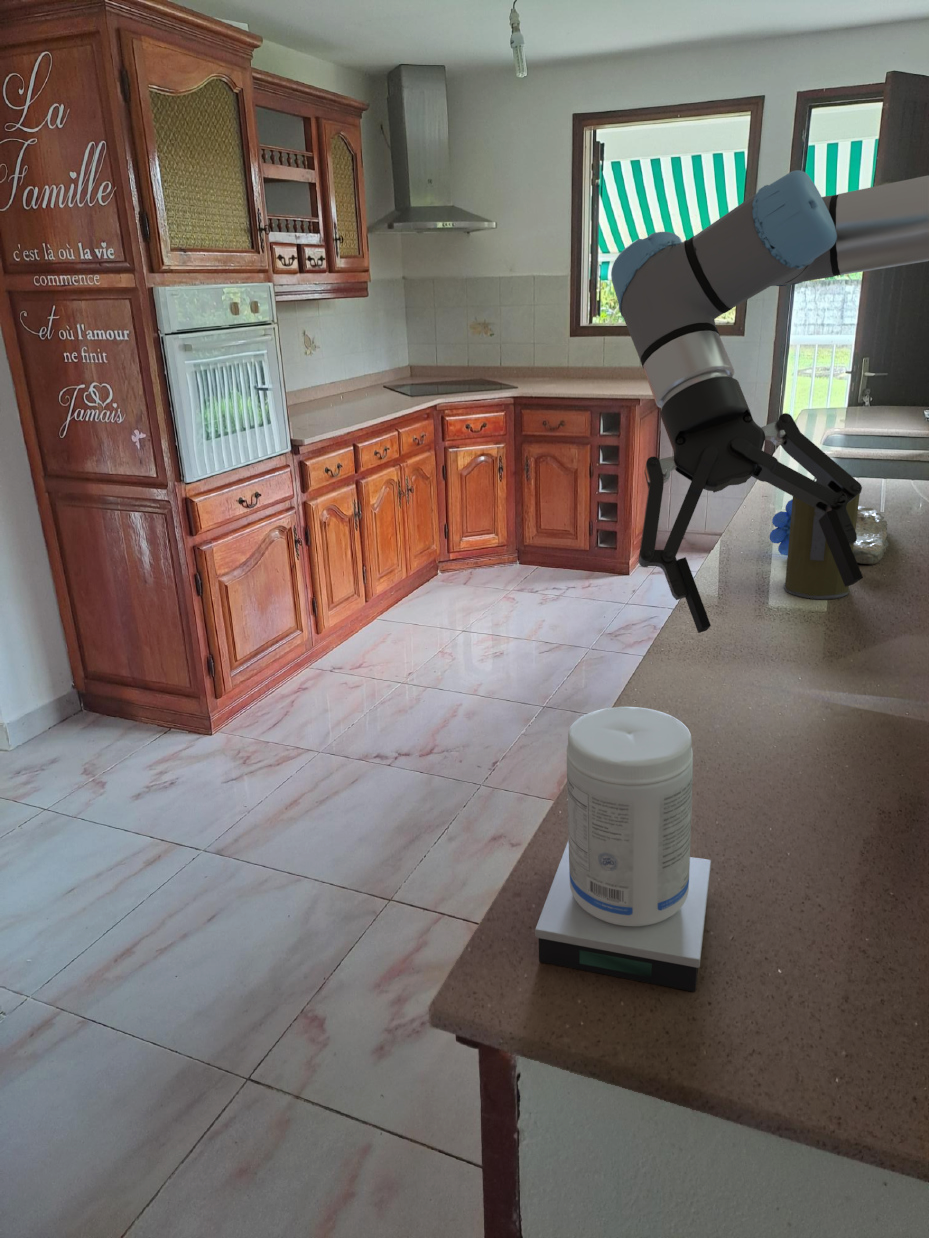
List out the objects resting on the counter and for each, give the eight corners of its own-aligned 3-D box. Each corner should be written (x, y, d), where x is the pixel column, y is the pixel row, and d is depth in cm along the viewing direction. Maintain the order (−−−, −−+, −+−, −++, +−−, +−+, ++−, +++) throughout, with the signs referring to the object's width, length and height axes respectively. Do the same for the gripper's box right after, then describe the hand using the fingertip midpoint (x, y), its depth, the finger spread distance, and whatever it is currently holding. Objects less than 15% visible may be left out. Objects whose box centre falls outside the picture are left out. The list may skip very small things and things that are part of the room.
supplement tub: (659, 849, 77) (665, 697, 72) (709, 920, 68) (719, 752, 63) (552, 867, 75) (550, 713, 70) (589, 942, 66) (590, 772, 61)
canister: (787, 577, 154) (797, 464, 147) (851, 583, 150) (865, 466, 143) (779, 596, 145) (789, 476, 138) (847, 603, 141) (861, 480, 134)
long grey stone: (830, 570, 161) (890, 577, 158) (835, 543, 159) (895, 549, 155) (831, 514, 190) (881, 519, 187) (835, 491, 188) (886, 495, 185)
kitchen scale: (709, 891, 76) (711, 859, 75) (697, 995, 65) (700, 959, 64) (568, 869, 80) (568, 838, 79) (535, 963, 69) (534, 929, 68)
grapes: (832, 552, 167) (839, 490, 163) (834, 562, 161) (841, 498, 157) (768, 549, 171) (773, 488, 167) (767, 559, 165) (772, 496, 161)
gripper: (816, 369, 85) (901, 572, 81) (569, 451, 86) (639, 654, 82) (839, 330, 78) (934, 551, 73) (568, 420, 79) (646, 642, 75)
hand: (779, 606), depth 78 cm, fingers open, 13 cm apart
